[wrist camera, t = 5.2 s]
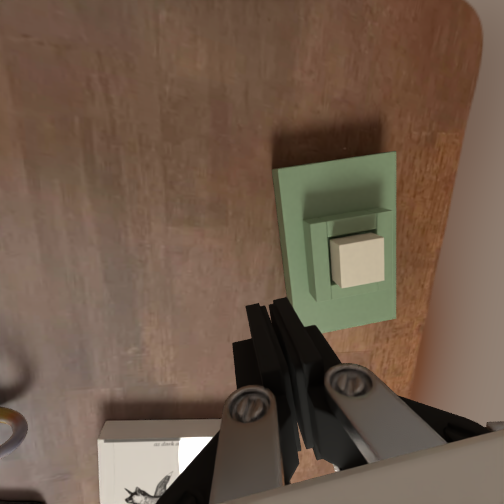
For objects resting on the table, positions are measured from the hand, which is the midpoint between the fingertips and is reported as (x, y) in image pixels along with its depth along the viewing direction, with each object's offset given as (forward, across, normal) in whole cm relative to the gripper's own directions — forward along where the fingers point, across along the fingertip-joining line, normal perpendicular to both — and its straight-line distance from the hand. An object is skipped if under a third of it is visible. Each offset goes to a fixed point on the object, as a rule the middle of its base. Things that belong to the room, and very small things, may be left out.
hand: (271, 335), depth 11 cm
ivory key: (+10, -8, +1) cm, 12 cm away
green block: (+13, -8, +1) cm, 15 cm away
